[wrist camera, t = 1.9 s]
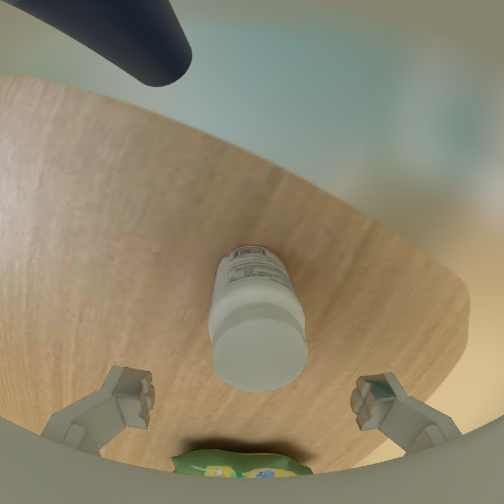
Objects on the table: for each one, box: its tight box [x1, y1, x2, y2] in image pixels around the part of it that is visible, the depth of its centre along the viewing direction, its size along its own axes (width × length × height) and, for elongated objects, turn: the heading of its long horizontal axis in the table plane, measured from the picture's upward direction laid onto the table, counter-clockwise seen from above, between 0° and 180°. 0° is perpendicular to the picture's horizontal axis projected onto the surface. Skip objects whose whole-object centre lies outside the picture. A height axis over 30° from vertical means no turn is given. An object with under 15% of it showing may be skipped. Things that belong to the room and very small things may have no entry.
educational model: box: [171, 449, 313, 478], centre depth 24 cm, size 13×16×5 cm
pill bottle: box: [208, 246, 308, 392], centre depth 15 cm, size 5×5×8 cm
